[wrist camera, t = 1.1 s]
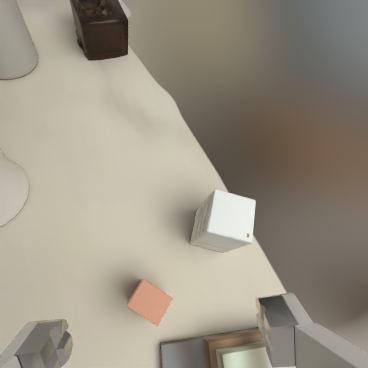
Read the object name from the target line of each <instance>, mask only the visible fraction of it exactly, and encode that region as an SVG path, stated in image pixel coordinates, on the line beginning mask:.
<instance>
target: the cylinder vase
mask: <svg viewBox="0 0 368 368" xmlns="http://www.w3.org/2000/svg"><path fill="white" fill-rule="evenodd" d="M37 62H38V53H37V50H36V48H35V46H34V43H33V41H32V38H31V36H30V33H29V31H28V29H27V26H26V24H25V21H24V19H23V16H22V14H21V12H20V9H19V7H18V4H17V2H16V0H0V79H15V78H19V77H22V76H24V75H26V74H28V73H30V72H31V71H32V70H33V69H34V68H35V66H36V65H37Z"/></svg>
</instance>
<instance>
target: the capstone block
mask: <svg viewBox="0 0 368 368" xmlns="http://www.w3.org/2000/svg"><path fill="white" fill-rule="evenodd" d="M172 299H173V298H172V297H170V296H169V295H167V294H166V293H164V292H162V291H161V290H159V289H158V288H156V287H155V286H153V285H152V284H150V283H149V282H147V281H146V280H144V279H142V280H141V281H140V283H139V284H138V286H137V287H136V289H135V291H134V292H133V294H132V295H131V297H130V299H129V300H128V304H127V307H129V308H130V309H132V310H134V311H135V312H137V313H138V314H140V315H141V316H143V317H144V318H146V319H147V320H149V321H150V322H152V323H153V324H155V325H156V326H158V325H159V323H160V321H161V319H162V317H163V316H164V314H165V312H166V310H167V308H168V306H169V305H170V303H171V301H172Z"/></svg>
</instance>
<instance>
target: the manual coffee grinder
mask: <svg viewBox="0 0 368 368" xmlns="http://www.w3.org/2000/svg"><path fill="white" fill-rule="evenodd" d="M70 3H71V8H72V12H73V17H74V21H75V26H76V33H77V36H78V40H77V41H78V44H79V46H80V47H81V48H82V49H83V51H84V53H85V55H86V57H87V58H88V59H89V60H102V59H109V58H116V57H120V56H124V55H127V54H128V19H127V17H126V15H125V13H124V11H123V9H122V7H121V5H120V3H119V1H118V0H70Z"/></svg>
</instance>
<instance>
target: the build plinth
mask: <svg viewBox="0 0 368 368" xmlns="http://www.w3.org/2000/svg"><path fill="white" fill-rule="evenodd" d="M161 362H162V368H272V365H271V363H270V360H269V357H268V355H267V352H266V343H265V342H264V341H262V338H261V335H260V332H259V328H252V329H245V330H239V331H233V332H227V333H220V334H214V335H208V336H202V337H195V338H189V339H183V340H177V341H170V342H164V343H161ZM277 368H289V367H277Z"/></svg>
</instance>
